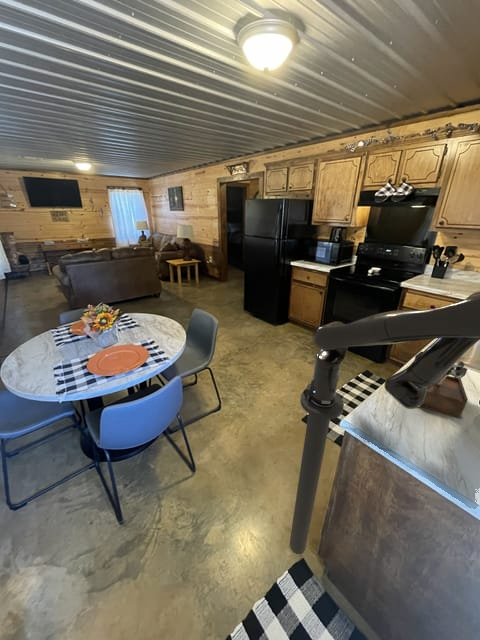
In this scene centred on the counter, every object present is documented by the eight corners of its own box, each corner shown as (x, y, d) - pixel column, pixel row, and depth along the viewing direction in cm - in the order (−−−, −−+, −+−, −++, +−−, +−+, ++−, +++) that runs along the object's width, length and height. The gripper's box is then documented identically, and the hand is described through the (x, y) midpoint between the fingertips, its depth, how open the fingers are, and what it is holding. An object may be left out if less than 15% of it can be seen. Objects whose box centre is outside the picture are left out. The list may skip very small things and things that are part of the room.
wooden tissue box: (407, 402, 100) (413, 384, 96) (407, 382, 111) (412, 366, 108) (459, 418, 92) (467, 399, 89) (453, 395, 103) (460, 378, 100)
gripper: (457, 374, 80) (475, 358, 89) (408, 354, 91) (428, 342, 99) (449, 393, 83) (467, 376, 92) (402, 372, 94) (422, 358, 102)
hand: (447, 358), depth 96 cm, fingers open, 8 cm apart
